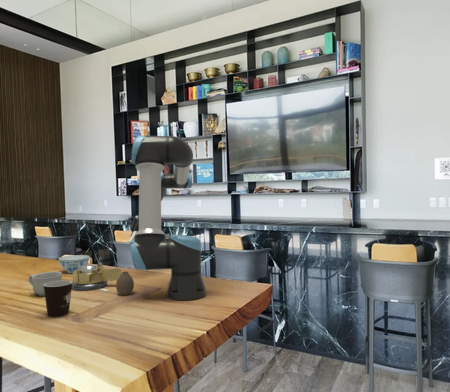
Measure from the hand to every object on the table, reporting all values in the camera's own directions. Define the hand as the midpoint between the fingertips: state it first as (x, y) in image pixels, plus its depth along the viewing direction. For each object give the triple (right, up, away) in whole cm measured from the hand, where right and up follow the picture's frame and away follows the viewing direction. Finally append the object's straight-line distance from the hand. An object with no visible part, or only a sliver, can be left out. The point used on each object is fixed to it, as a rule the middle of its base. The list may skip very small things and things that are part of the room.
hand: (131, 243), depth 168 cm
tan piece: (-11, -14, -14) cm, 23 cm away
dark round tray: (-14, -17, -14) cm, 26 cm away
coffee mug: (-10, -17, -50) cm, 53 cm away
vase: (+5, -17, -27) cm, 32 cm away
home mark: (-6, -17, -21) cm, 28 cm away
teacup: (-29, -17, -25) cm, 42 cm away
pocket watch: (-18, -17, +3) cm, 25 cm away
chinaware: (-35, -18, +18) cm, 43 cm away
